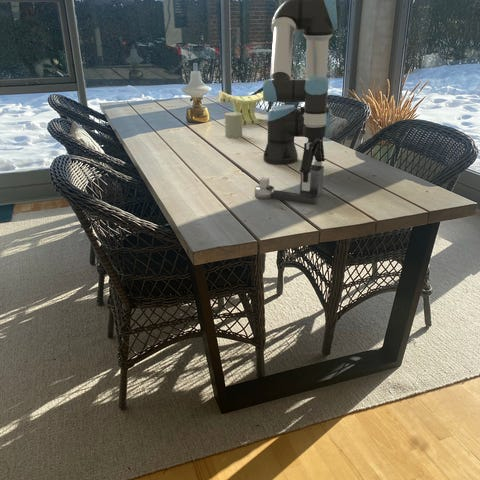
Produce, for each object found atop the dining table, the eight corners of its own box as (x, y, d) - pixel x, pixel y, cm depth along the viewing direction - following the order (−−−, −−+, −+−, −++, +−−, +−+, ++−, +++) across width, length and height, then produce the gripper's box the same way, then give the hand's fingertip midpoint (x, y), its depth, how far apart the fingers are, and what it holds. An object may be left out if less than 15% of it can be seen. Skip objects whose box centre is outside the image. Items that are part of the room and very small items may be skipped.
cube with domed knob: (305, 190, 181) (306, 163, 176) (322, 192, 178) (324, 165, 174) (299, 196, 175) (301, 168, 171) (317, 198, 173) (318, 170, 168)
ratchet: (259, 191, 180) (259, 174, 177) (318, 200, 171) (319, 182, 169) (251, 197, 175) (251, 180, 172) (312, 206, 166) (313, 188, 163)
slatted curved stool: (268, 117, 301) (268, 87, 293) (274, 122, 287) (274, 91, 279) (219, 119, 297) (218, 89, 289) (223, 125, 282) (222, 93, 275)
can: (241, 138, 254) (240, 114, 249) (223, 137, 256) (222, 114, 250) (243, 133, 262) (243, 111, 257) (226, 133, 264) (226, 111, 259)
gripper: (315, 117, 178) (312, 173, 187) (291, 132, 157) (289, 194, 166) (335, 118, 175) (331, 175, 184) (314, 134, 154) (311, 197, 163)
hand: (311, 184), depth 175 cm, fingers open, 13 cm apart
